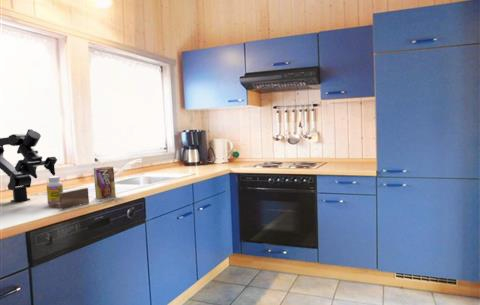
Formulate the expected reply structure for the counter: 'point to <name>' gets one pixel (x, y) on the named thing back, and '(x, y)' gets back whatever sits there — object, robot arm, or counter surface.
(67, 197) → the brown rectangular box
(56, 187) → the supplement bottle
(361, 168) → the counter surface
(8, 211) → the counter surface
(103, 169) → the candy box
